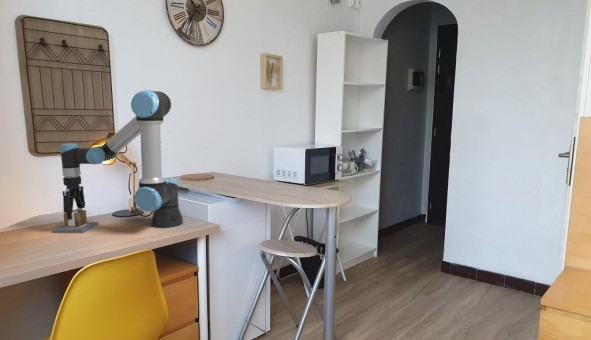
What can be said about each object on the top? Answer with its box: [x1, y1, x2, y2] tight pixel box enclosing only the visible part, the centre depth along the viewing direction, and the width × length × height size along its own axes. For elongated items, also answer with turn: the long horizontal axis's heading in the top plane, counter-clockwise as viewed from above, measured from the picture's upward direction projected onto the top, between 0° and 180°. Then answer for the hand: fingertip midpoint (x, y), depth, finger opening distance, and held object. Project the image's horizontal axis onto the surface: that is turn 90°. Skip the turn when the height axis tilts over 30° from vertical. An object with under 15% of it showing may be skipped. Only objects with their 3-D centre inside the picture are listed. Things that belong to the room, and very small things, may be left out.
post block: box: [53, 211, 99, 234], centre depth 207 cm, size 14×14×8 cm
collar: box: [63, 209, 88, 226], centre depth 207 cm, size 7×7×6 cm
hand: (76, 223), depth 207 cm, fingers closed on collar, 7 cm apart
